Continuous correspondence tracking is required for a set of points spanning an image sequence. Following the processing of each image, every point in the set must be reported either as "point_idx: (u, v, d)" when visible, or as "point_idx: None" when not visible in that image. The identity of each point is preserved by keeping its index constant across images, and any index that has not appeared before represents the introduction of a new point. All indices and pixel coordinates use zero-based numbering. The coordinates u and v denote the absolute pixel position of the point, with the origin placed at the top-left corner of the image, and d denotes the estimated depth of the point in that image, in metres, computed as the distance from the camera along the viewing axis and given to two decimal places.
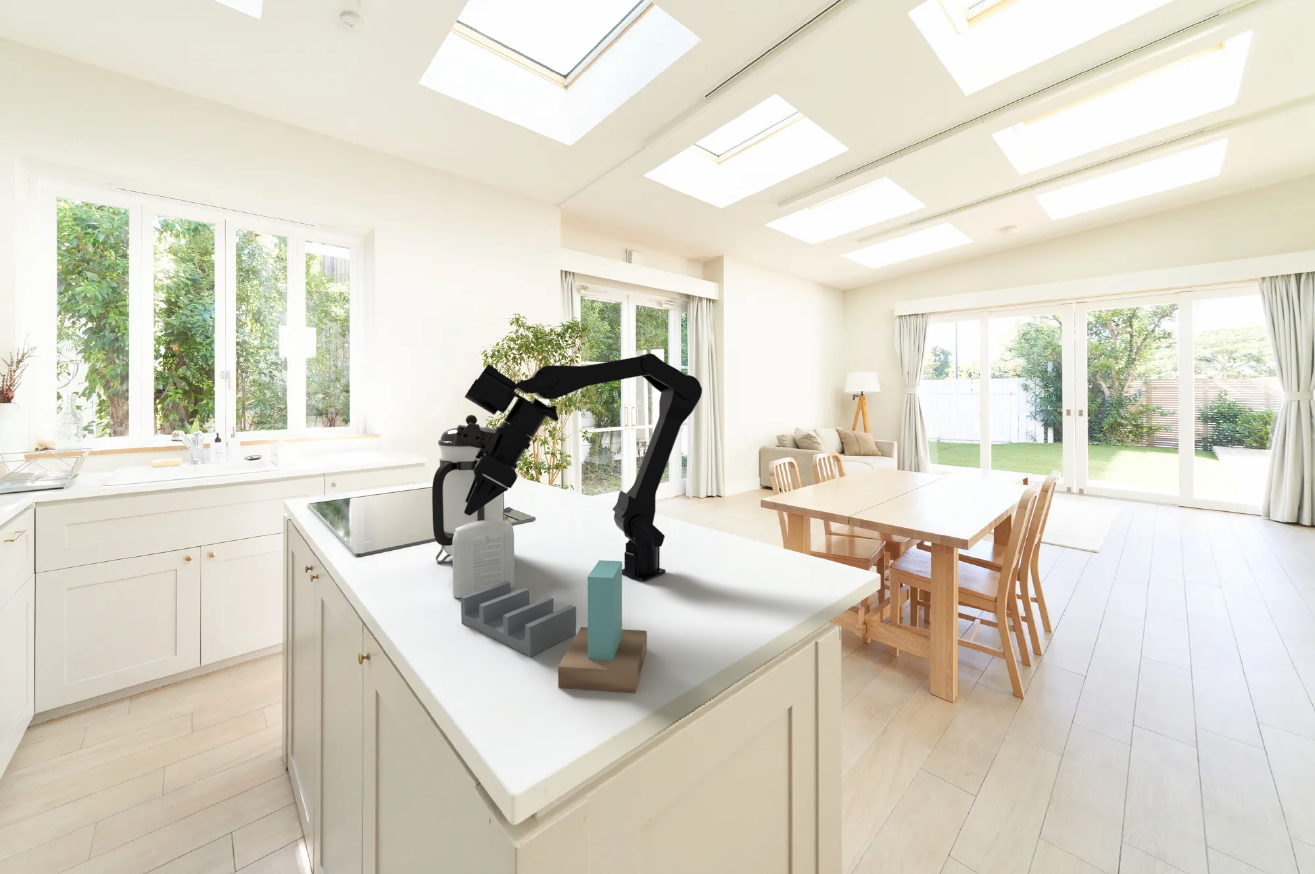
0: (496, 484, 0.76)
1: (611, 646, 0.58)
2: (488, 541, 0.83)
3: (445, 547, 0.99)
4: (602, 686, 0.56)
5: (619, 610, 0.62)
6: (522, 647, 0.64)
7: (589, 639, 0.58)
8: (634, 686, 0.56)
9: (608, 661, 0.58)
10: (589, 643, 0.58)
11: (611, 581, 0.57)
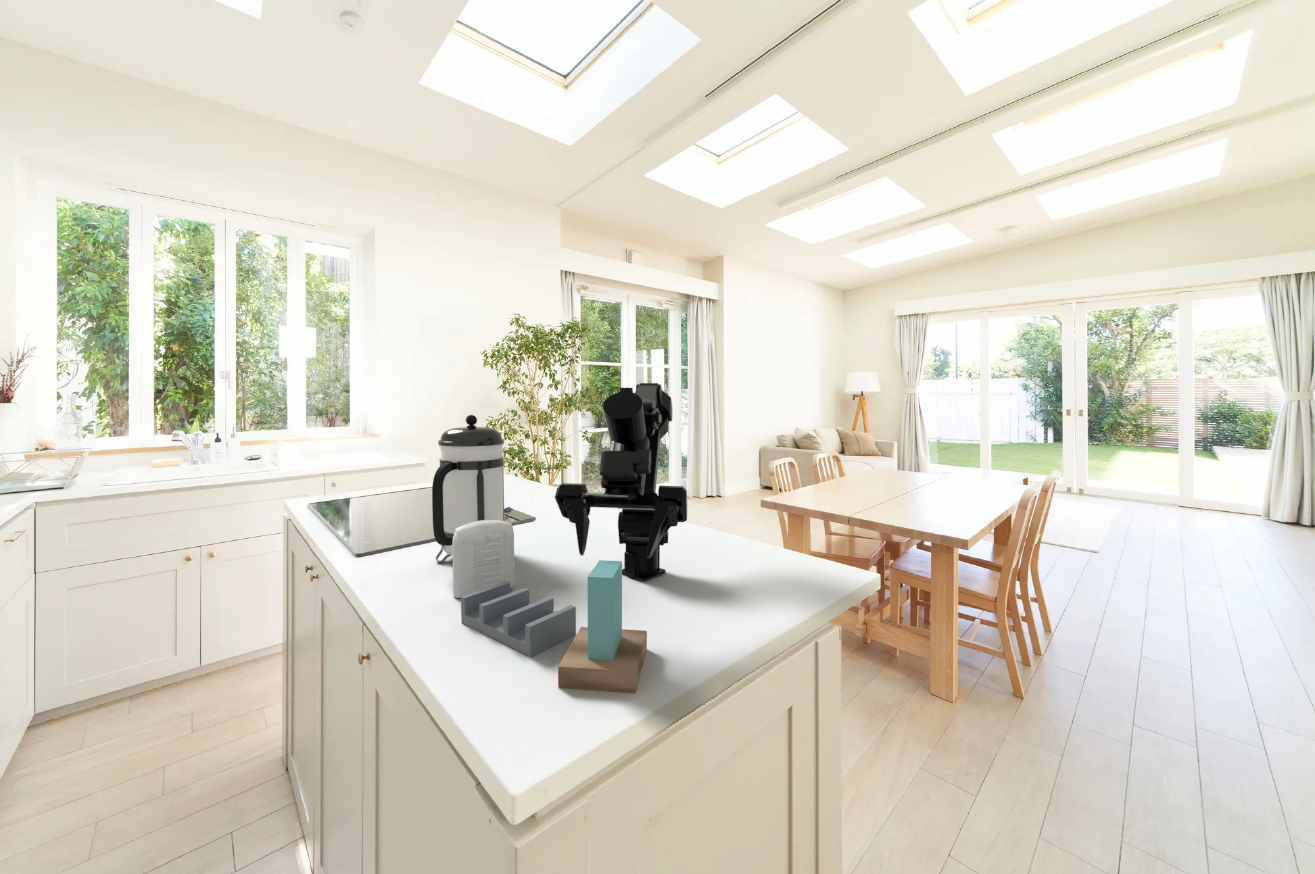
0: (677, 518, 0.70)
1: (611, 646, 0.58)
2: (488, 541, 0.83)
3: (445, 547, 0.99)
4: (602, 686, 0.56)
5: (619, 610, 0.62)
6: (522, 647, 0.64)
7: (589, 639, 0.58)
8: (634, 686, 0.56)
9: (608, 661, 0.58)
10: (589, 643, 0.58)
11: (611, 581, 0.57)
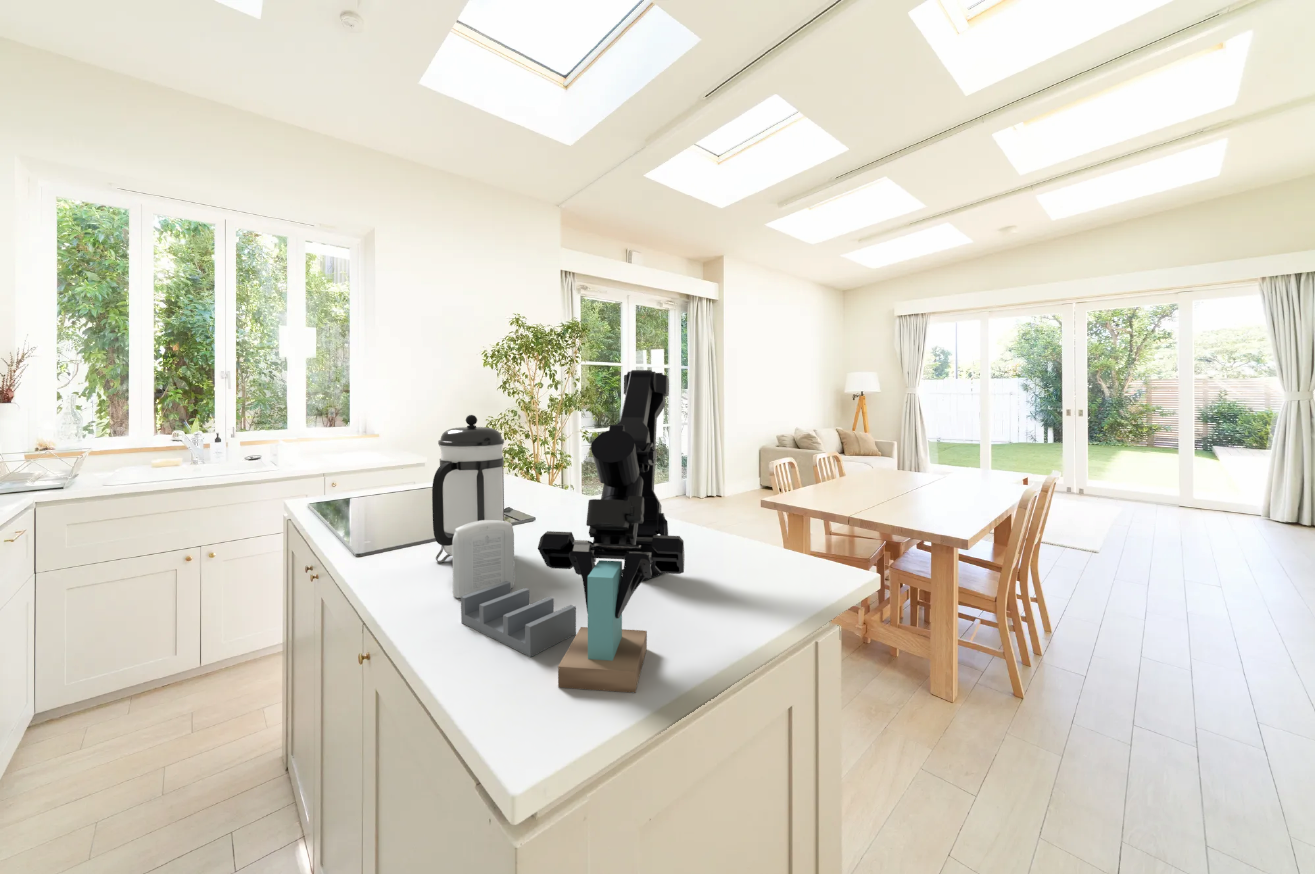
0: (650, 570, 0.64)
1: (611, 646, 0.58)
2: (488, 541, 0.83)
3: (445, 547, 0.99)
4: (602, 686, 0.56)
5: None
6: (522, 647, 0.64)
7: (589, 639, 0.58)
8: (634, 686, 0.56)
9: (608, 661, 0.58)
10: (589, 643, 0.58)
11: (611, 581, 0.57)
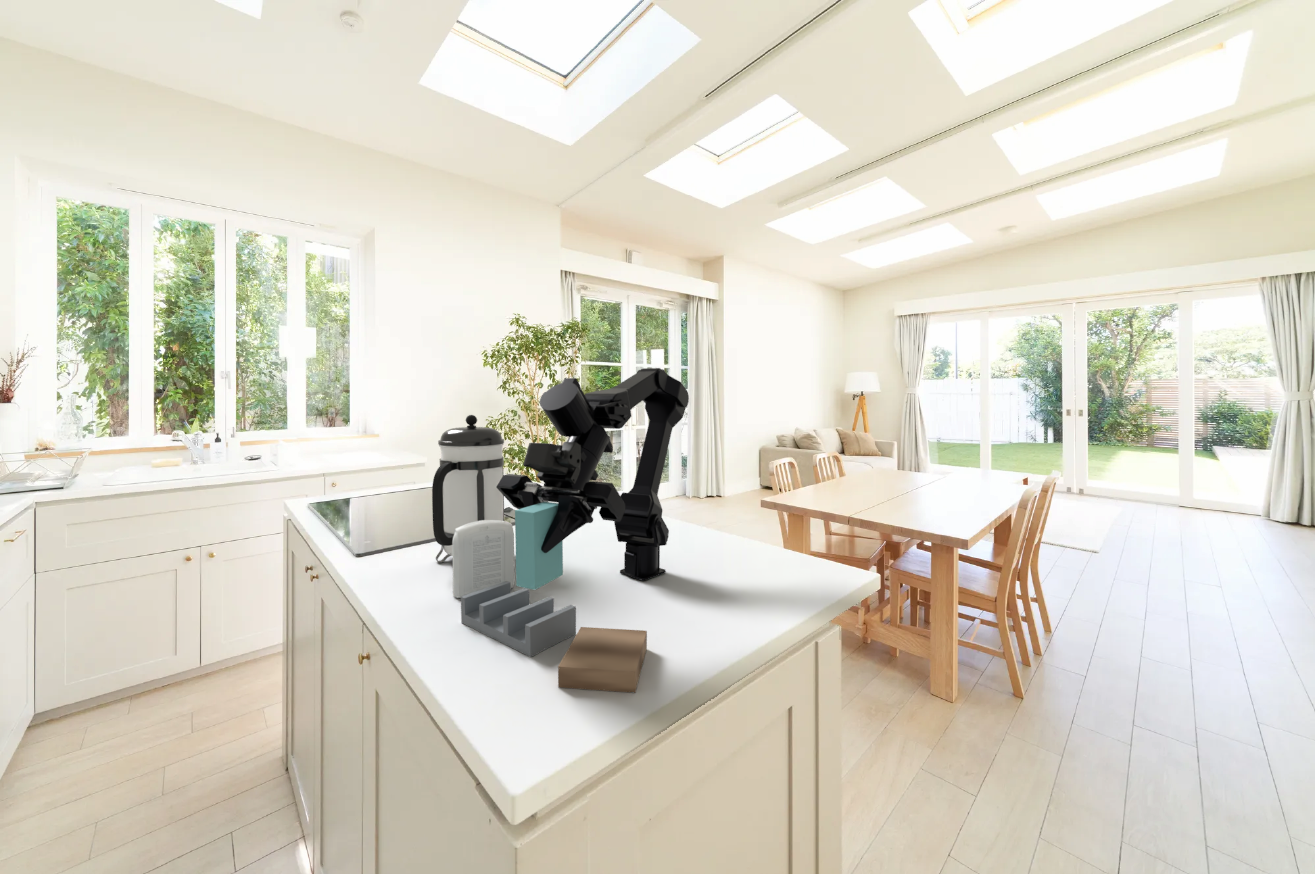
0: (588, 514, 0.67)
1: (533, 576, 0.63)
2: (488, 541, 0.83)
3: (445, 547, 0.99)
4: (602, 686, 0.56)
5: (554, 548, 0.66)
6: (522, 647, 0.64)
7: (517, 568, 0.64)
8: (634, 686, 0.56)
9: (608, 661, 0.58)
10: (517, 571, 0.64)
11: (532, 516, 0.62)
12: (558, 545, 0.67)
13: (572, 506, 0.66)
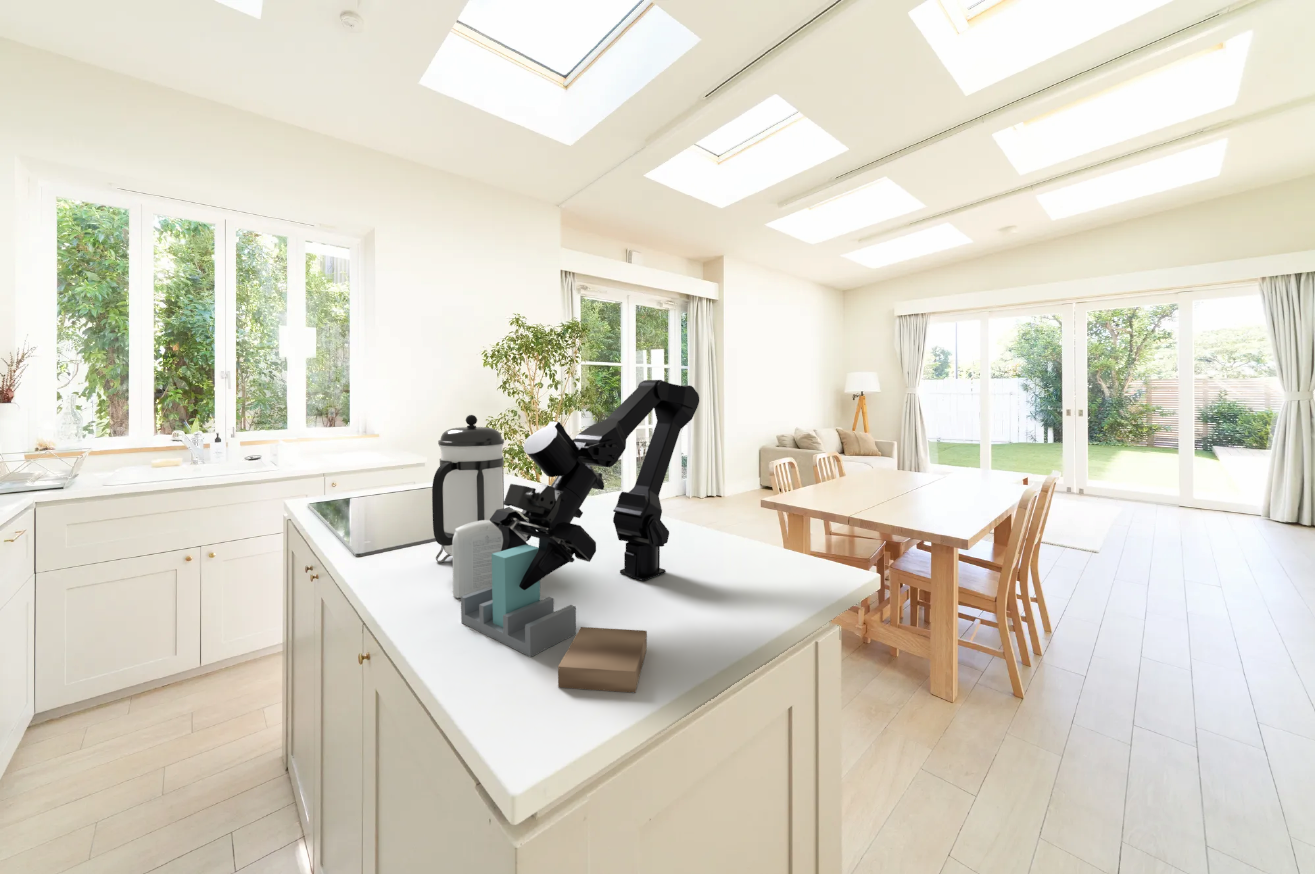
0: (568, 554, 0.70)
1: None
2: (488, 541, 0.83)
3: (445, 547, 0.99)
4: (602, 686, 0.56)
5: (530, 589, 0.71)
6: (522, 647, 0.64)
7: (493, 606, 0.69)
8: (634, 686, 0.56)
9: (608, 661, 0.58)
10: (493, 610, 0.69)
11: (504, 561, 0.67)
12: (534, 586, 0.72)
13: (551, 546, 0.69)
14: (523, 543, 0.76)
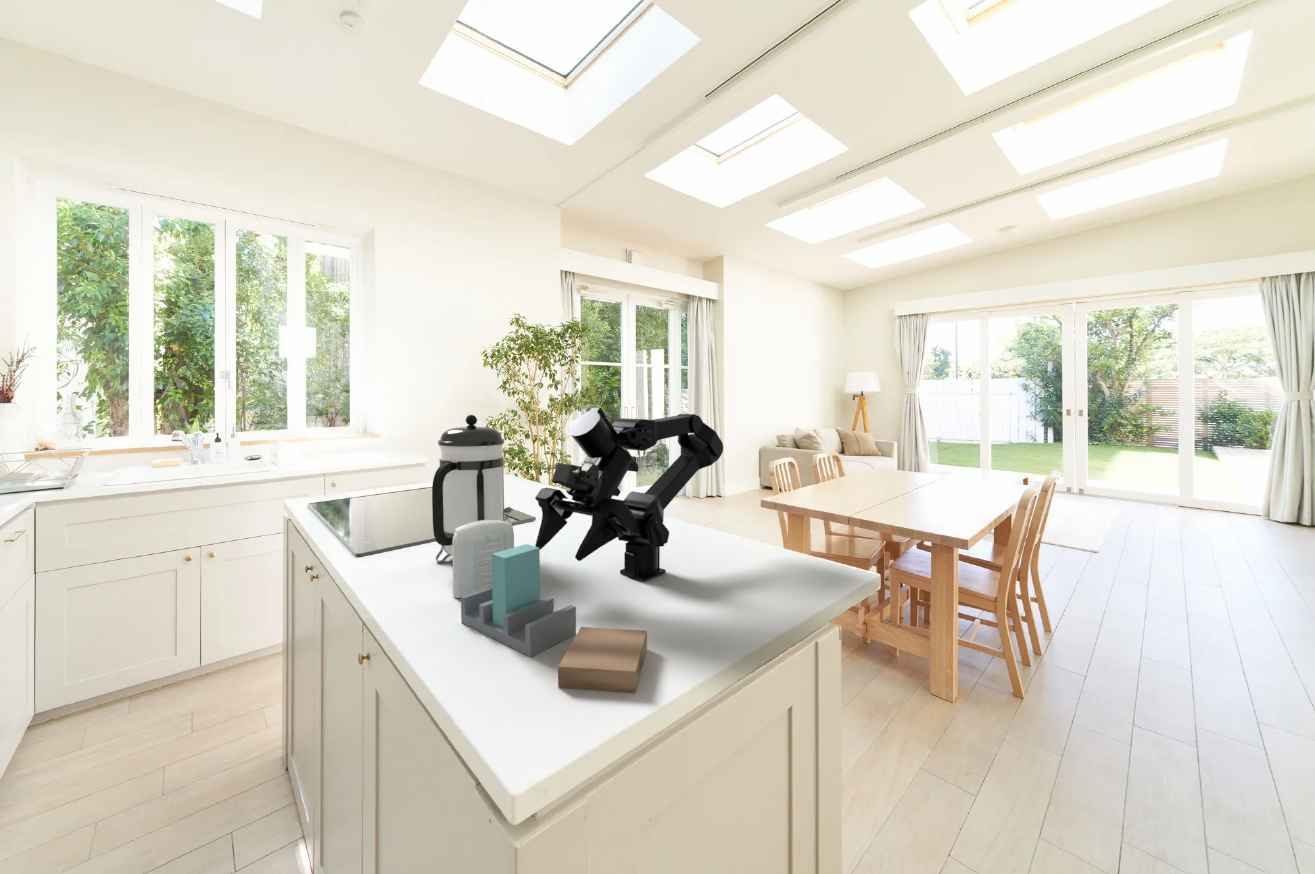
0: (618, 529, 0.76)
1: None
2: (488, 541, 0.83)
3: (445, 547, 0.99)
4: (602, 686, 0.56)
5: (530, 589, 0.71)
6: (522, 647, 0.64)
7: (493, 606, 0.69)
8: (634, 686, 0.56)
9: (608, 661, 0.58)
10: (493, 610, 0.69)
11: (504, 561, 0.67)
12: (534, 586, 0.72)
13: (603, 521, 0.75)
14: (560, 517, 0.84)
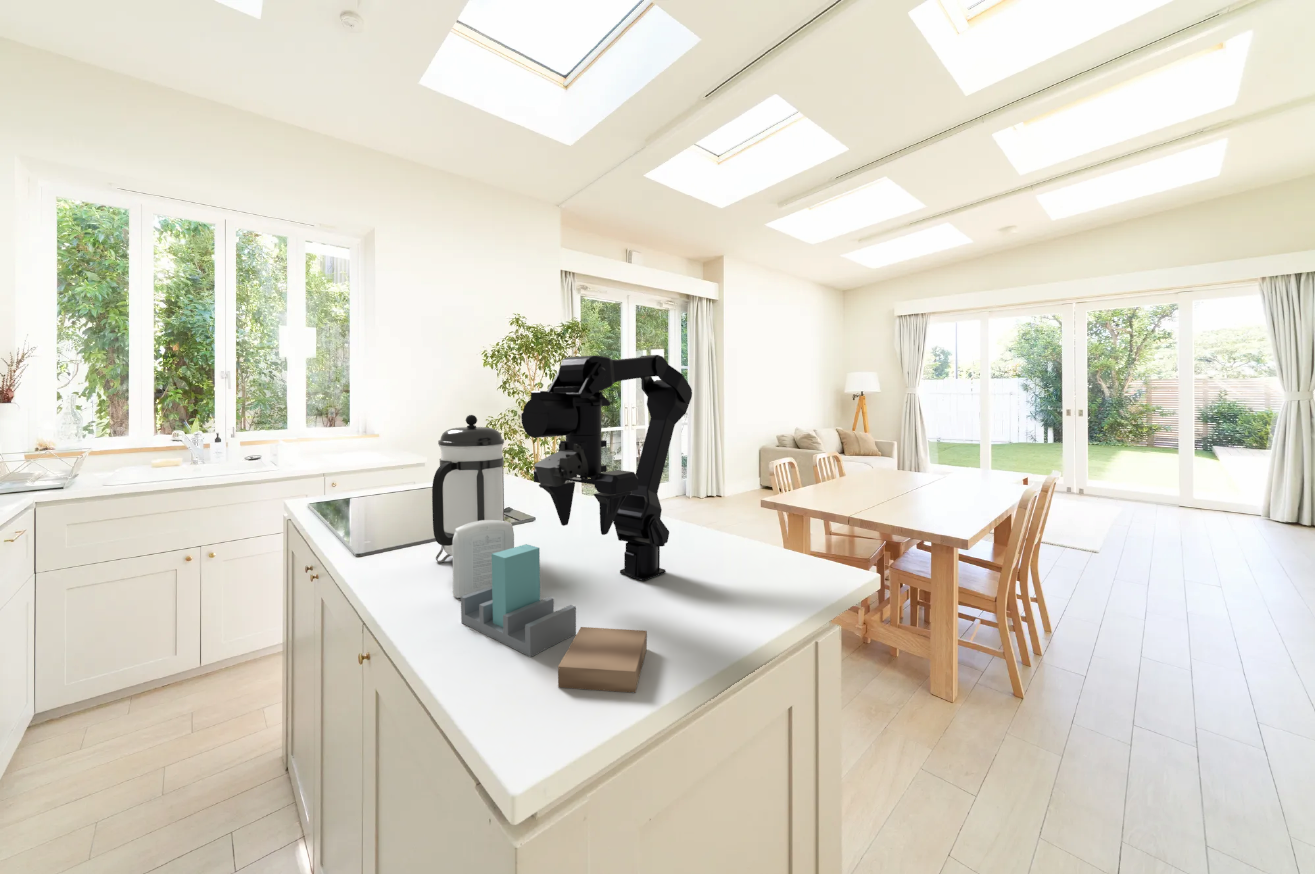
0: (625, 493, 0.76)
1: None
2: (488, 541, 0.83)
3: (445, 547, 0.99)
4: (602, 686, 0.56)
5: (530, 589, 0.71)
6: (522, 647, 0.64)
7: (493, 606, 0.69)
8: (634, 686, 0.56)
9: (608, 661, 0.58)
10: (493, 610, 0.69)
11: (504, 561, 0.67)
12: (534, 586, 0.72)
13: None
14: (566, 485, 0.84)
